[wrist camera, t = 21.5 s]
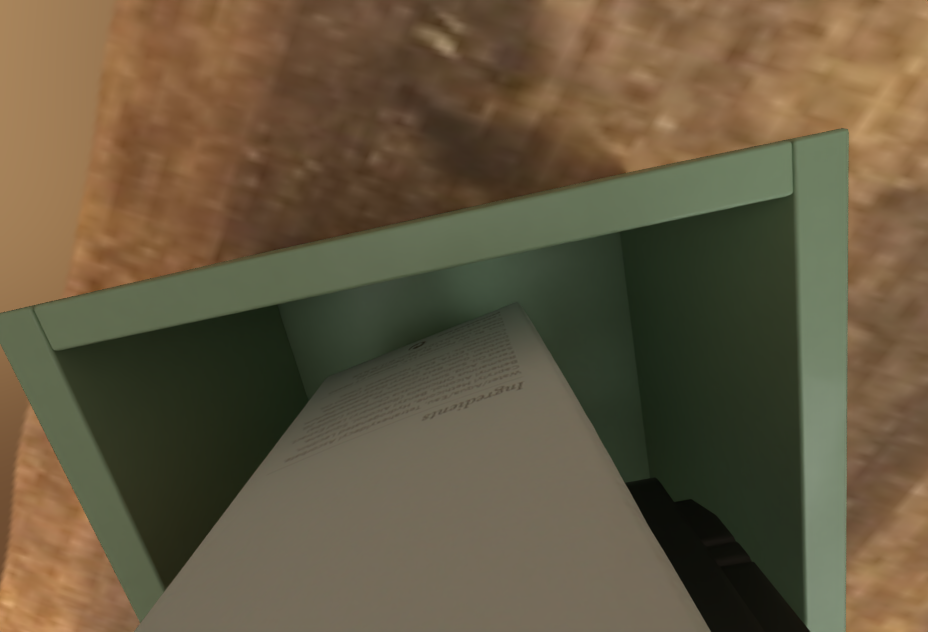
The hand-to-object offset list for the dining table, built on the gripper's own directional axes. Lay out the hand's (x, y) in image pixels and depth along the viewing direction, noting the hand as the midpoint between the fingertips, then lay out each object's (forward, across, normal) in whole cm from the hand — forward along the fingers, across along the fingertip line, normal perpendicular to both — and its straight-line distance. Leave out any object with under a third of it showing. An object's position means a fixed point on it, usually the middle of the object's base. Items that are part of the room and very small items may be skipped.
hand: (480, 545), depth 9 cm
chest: (+8, 0, +1) cm, 8 cm away
